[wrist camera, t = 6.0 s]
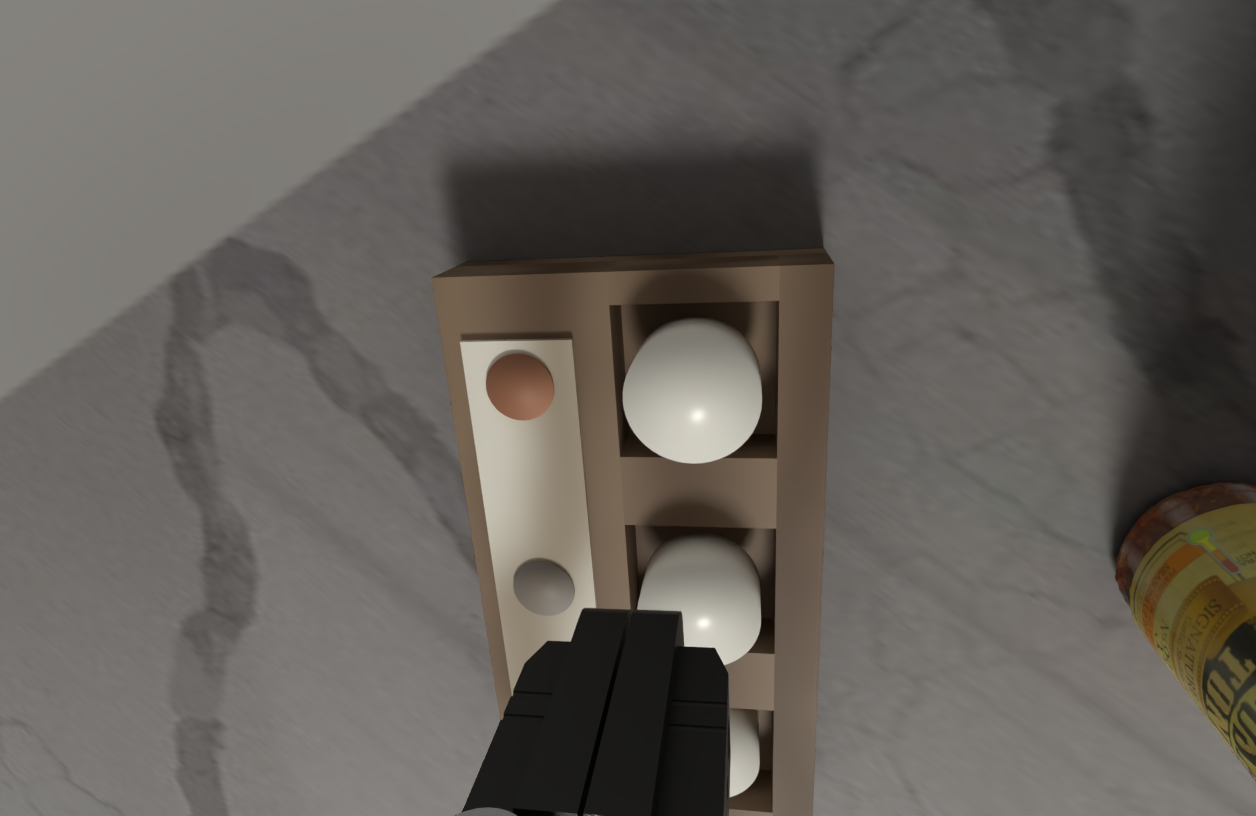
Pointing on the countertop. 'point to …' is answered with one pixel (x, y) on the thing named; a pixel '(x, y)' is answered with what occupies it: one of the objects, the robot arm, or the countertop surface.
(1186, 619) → the sauce bottle
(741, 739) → the button
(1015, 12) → the countertop surface
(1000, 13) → the countertop surface
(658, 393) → the button
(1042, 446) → the countertop surface
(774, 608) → the button panel
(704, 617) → the button
